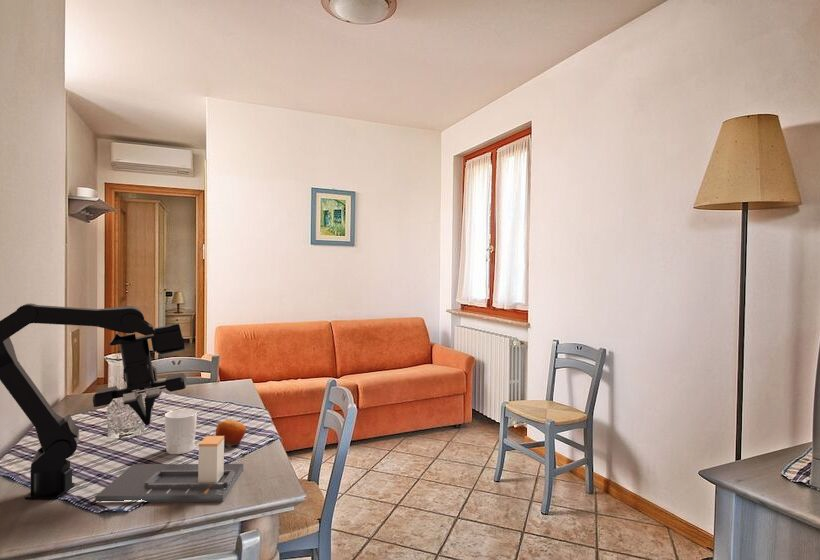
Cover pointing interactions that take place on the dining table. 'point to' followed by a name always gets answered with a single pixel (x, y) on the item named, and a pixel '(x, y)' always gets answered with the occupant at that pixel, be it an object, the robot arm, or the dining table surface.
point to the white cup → (180, 430)
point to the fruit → (231, 432)
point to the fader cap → (211, 459)
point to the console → (169, 484)
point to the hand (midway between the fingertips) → (148, 424)
